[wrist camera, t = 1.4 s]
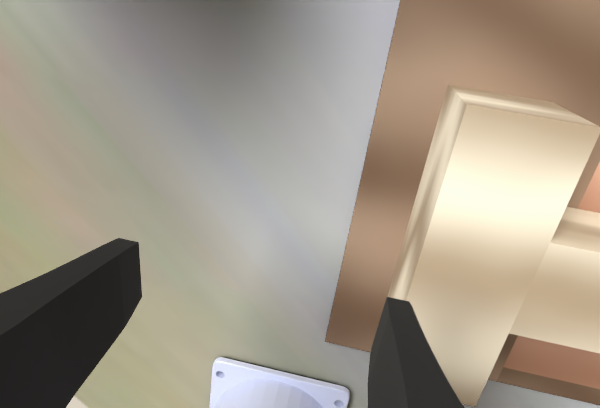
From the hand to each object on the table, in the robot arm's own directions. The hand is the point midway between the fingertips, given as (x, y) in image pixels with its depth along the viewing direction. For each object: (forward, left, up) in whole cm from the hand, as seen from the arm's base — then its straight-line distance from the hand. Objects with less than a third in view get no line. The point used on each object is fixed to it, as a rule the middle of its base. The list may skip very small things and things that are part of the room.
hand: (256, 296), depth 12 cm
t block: (0, -11, -8) cm, 14 cm away
